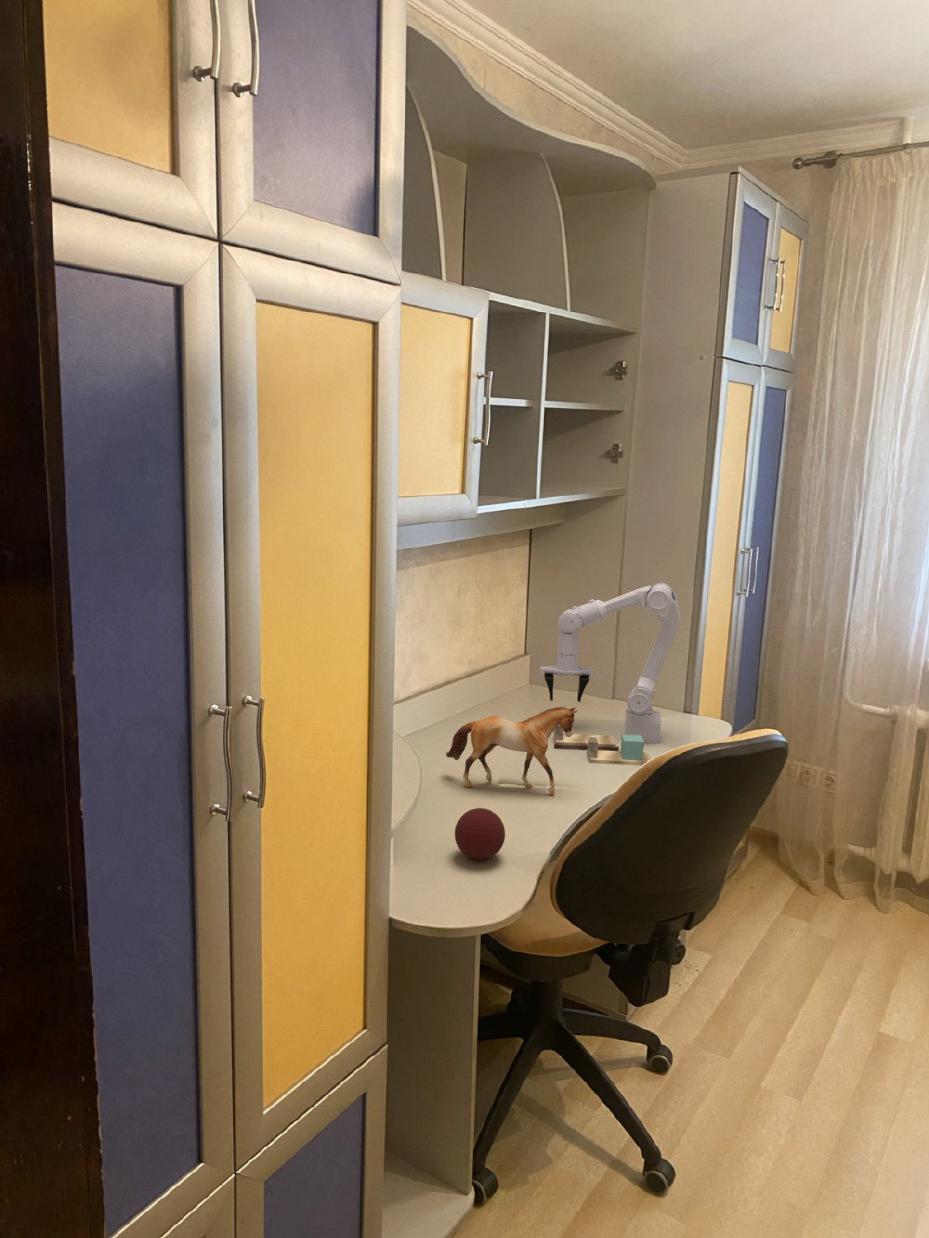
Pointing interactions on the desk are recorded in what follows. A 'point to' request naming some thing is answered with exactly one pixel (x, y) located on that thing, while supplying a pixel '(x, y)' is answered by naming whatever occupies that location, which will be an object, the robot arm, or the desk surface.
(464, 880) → the desk surface
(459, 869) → the desk surface
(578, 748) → the lane board
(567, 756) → the desk surface
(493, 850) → the decorative ball
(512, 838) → the desk surface
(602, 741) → the empty strip
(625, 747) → the teal cube
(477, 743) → the horse figurine
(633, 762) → the strip
